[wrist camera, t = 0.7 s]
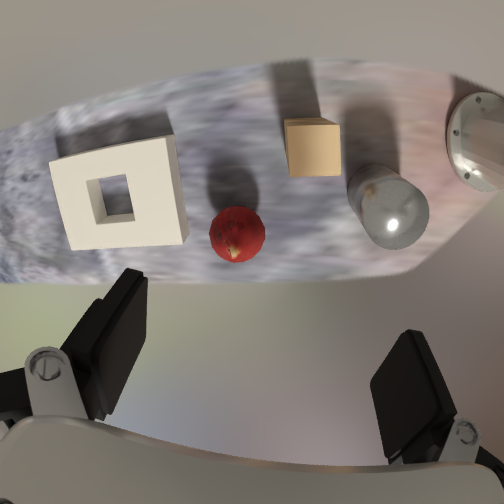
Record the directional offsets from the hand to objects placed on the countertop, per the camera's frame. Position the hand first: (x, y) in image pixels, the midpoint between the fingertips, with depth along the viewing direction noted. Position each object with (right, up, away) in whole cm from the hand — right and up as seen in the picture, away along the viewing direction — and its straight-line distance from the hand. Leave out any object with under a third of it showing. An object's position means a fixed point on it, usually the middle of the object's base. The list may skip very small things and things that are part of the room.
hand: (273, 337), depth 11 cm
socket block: (-17, +10, +25) cm, 32 cm away
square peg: (+5, +15, +21) cm, 26 cm away
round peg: (+13, +10, +23) cm, 28 cm away
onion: (-2, +7, +26) cm, 27 cm away
